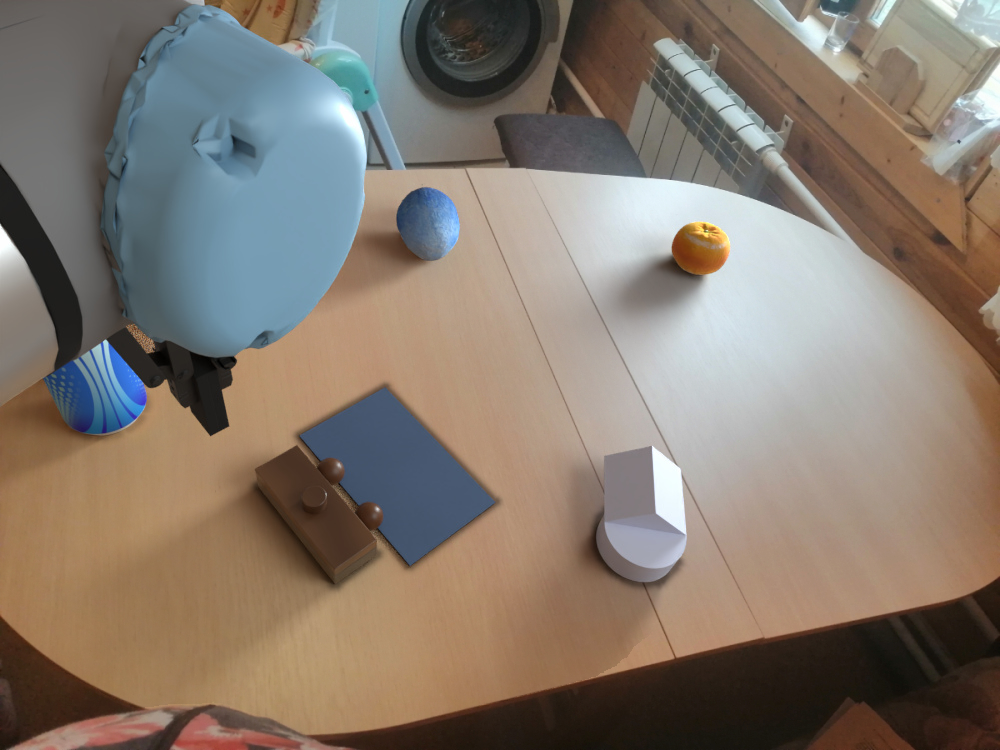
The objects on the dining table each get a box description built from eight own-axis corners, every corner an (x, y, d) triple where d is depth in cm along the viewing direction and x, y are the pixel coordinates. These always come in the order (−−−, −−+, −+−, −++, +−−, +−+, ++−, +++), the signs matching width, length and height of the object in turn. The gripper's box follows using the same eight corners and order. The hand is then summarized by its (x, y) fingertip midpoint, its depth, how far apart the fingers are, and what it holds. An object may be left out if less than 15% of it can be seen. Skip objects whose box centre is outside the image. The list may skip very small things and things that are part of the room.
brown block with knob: (335, 584, 71) (334, 562, 67) (257, 486, 76) (252, 461, 73) (376, 555, 74) (377, 532, 70) (299, 462, 79) (296, 436, 75)
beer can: (51, 403, 79) (-3, 297, 67) (127, 369, 83) (90, 265, 71) (85, 454, 76) (35, 354, 64) (163, 416, 80) (130, 315, 68)
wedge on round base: (596, 471, 85) (596, 574, 76) (612, 438, 80) (613, 545, 71) (670, 484, 85) (678, 588, 77) (691, 452, 80) (702, 560, 72)
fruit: (708, 221, 115) (717, 202, 107) (734, 267, 113) (745, 251, 105) (660, 244, 115) (665, 227, 107) (685, 291, 114) (692, 276, 106)
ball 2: (368, 539, 75) (360, 535, 73) (353, 516, 76) (344, 511, 74) (392, 521, 76) (384, 516, 73) (376, 499, 77) (368, 493, 74)
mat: (409, 566, 74) (409, 565, 73) (299, 436, 81) (299, 435, 81) (495, 502, 80) (495, 502, 80) (385, 387, 88) (385, 387, 88)
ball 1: (333, 494, 78) (321, 487, 75) (317, 475, 79) (305, 467, 76) (354, 475, 78) (343, 467, 76) (338, 457, 79) (327, 448, 77)
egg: (440, 151, 104) (453, 220, 95) (458, 195, 111) (472, 264, 102) (383, 169, 105) (391, 240, 96) (405, 212, 112) (413, 282, 103)
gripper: (224, 62, 40) (262, 349, 57) (-42, 125, 33) (95, 428, 50) (302, 131, 37) (316, 410, 54) (27, 215, 30) (147, 503, 48)
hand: (210, 418), depth 52 cm, fingers closed
